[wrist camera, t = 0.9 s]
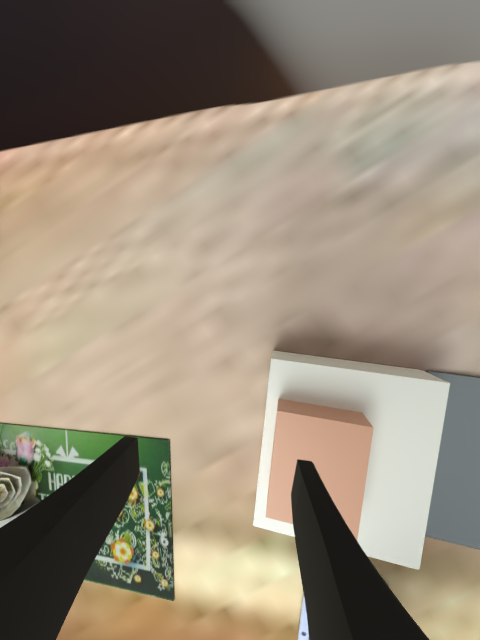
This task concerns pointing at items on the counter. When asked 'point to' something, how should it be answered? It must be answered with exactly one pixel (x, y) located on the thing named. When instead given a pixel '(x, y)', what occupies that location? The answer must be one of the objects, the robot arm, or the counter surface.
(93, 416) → the counter surface
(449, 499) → the mat
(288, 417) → the tile
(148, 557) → the decorative card
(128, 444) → the robot arm
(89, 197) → the counter surface
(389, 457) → the white platform
